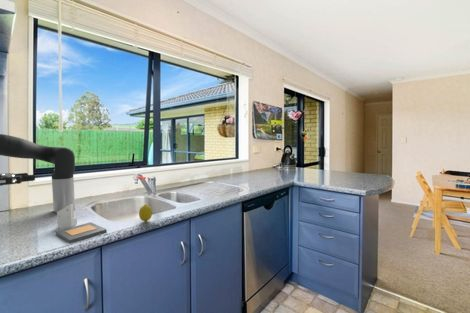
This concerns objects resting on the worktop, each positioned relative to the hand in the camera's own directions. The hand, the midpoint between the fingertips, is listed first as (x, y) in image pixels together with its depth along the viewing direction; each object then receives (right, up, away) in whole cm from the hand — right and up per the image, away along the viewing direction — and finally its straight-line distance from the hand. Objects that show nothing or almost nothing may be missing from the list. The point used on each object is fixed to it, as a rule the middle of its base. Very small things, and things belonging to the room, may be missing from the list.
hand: (31, 176), depth 94 cm
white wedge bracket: (+7, -23, +11) cm, 26 cm away
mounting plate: (+18, -23, +3) cm, 29 cm away
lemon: (+39, -22, +16) cm, 47 cm away
